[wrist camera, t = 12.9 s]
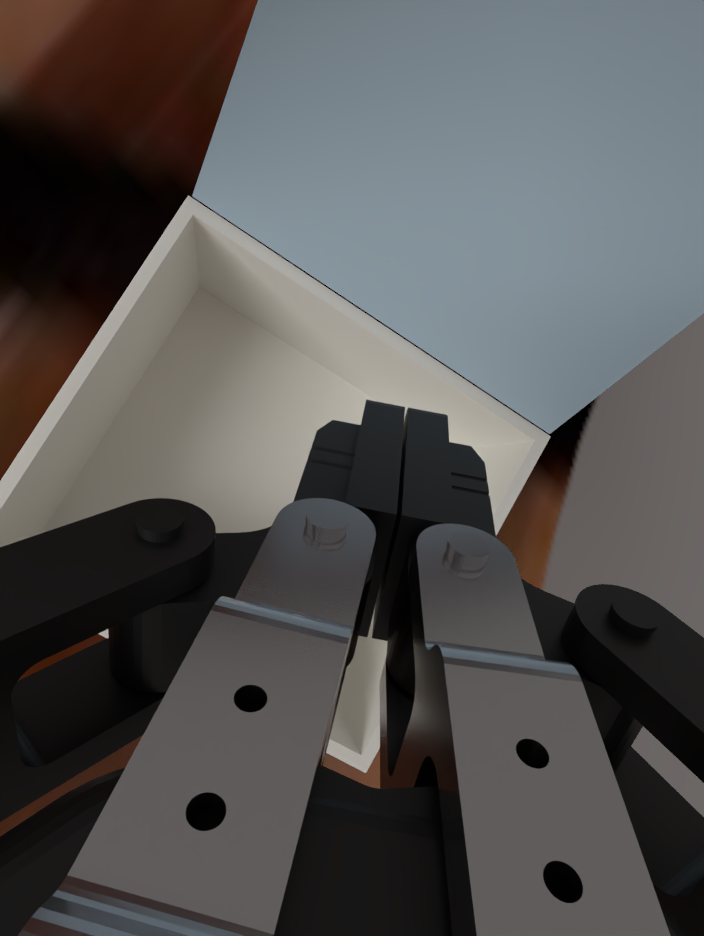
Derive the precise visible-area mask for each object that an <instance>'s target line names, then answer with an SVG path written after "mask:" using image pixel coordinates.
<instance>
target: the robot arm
mask: <svg viewBox="0 0 704 936" xmlns="http://www.w3.org/2000/svg"><path fill="white" fill-rule="evenodd" d="M404 415H405V407H403V406H398V405H393V404H387V403H382V402H377V401H372V400H366V403H365V408H364V412H363V417H362V422H361V425H357V424H352V423H347V422H342V421H337V420H332V421H330V422H329V423H327V424H326V425H324V426H323V427H321V428H320V429H319V430H317V432H316V435H315V438H314V441H313V444H312V448H311V450H310V453H309V456H308V460H307V462H306V465H305V468H304V471H303V474H302V477H301V480H300V483H299V486H298V489H297V492H296V495H295V498H294V501H293V502H292V503H290V504H288V505H287V506H285V507H284V508H282V509H281V510H280V512H279V513H278V514H277V516H276V518H275V520H274V522H273V524H272V526H270V527H268V528H265V529H261V530H257V531H251V532H240V533H216V527H215V524H214V521H213V520H212V518H211V516H210V515H209V514H208V513H207V512H206V511H204V510H203V509H201V508H200V507H198V506H196V505H194V504H191V503H188V502H185V501H181V500H177V499H169V498H153V499H145V500H139V501H136V502H132V503H129V504H126V505H123V506H120V507H117V508H114V509H111V510H109V511H106V512H103V513H100V514H97V515H94V516H91V517H88V518H85V519H82V520H79V521H76V522H73V523H70V524H67V525H64V526H61V527H59V528H56V529H53V530H50V531H47V532H44V533H41V534H38V535H35V536H32V537H29V538H26V539H23V540H20V541H17V542H14V543H12V544H9V545H6V546H3V547H0V822H1V821H2V820H4V819H6V818H7V817H9V816H11V815H12V814H14V813H15V812H17V811H19V810H20V809H22V808H24V807H25V806H27V805H29V804H30V803H32V802H33V801H35V800H37V799H38V798H40V797H42V796H43V795H45V794H47V793H48V792H50V791H52V790H53V789H55V788H56V787H58V786H60V785H61V784H63V783H65V782H66V781H68V780H70V779H71V778H73V777H74V776H76V775H78V774H79V773H81V772H83V771H84V770H86V769H88V768H89V767H91V766H92V765H94V764H96V763H97V762H99V761H101V760H102V759H104V758H106V757H107V756H109V755H110V754H112V753H114V752H115V751H117V750H119V749H120V748H122V747H124V746H125V745H127V744H128V743H130V742H132V741H133V740H135V739H137V738H138V737H140V736H142V735H143V734H144V735H143V736H142V738H141V740H140V742H139V744H138V746H137V747H136V749H135V751H134V753H133V755H132V757H131V759H130V760H129V762H128V764H127V766H126V768H123V769H120V770H116V771H114V772H111V773H109V774H106V775H104V776H101V777H98V778H96V779H93V780H91V781H89V782H87V783H85V784H84V785H82V786H80V787H78V788H76V789H74V790H72V791H70V792H68V793H67V794H65V795H63V796H62V797H60V798H58V799H57V800H55V801H54V802H52V803H51V804H49V805H48V806H46V807H45V808H43V809H42V810H40V811H39V812H37V813H36V814H34V815H33V816H31V817H29V818H28V819H26V820H25V821H23V822H22V823H20V824H19V825H17V826H16V827H14V828H13V829H11V830H10V831H8V832H7V833H5V834H4V835H2V836H1V837H0V936H704V817H703V816H702V815H701V814H699V813H698V812H697V811H696V810H695V809H694V808H693V807H692V806H691V805H690V804H689V803H688V802H687V801H686V800H685V799H684V798H683V797H682V796H681V795H680V794H679V793H678V792H677V791H676V790H675V789H674V788H673V787H672V786H671V785H670V784H669V783H668V782H667V781H666V780H665V779H664V778H663V777H662V776H661V775H660V774H659V773H658V772H657V771H655V769H654V768H652V767H651V766H650V765H649V764H648V763H647V762H646V761H645V760H644V759H643V758H642V757H641V756H640V755H639V754H638V753H637V752H636V751H635V750H634V749H633V748H632V747H631V745H632V743H633V742H634V740H635V738H636V737H637V735H638V733H639V732H640V730H641V728H642V727H643V726H644V727H645V728H646V729H647V730H648V731H649V732H650V733H651V734H652V735H653V736H654V737H655V738H656V739H658V740H659V741H660V742H661V743H662V744H663V745H664V746H665V747H666V748H667V749H668V750H669V751H670V752H671V753H673V754H674V755H675V756H676V757H677V758H678V759H679V760H680V761H681V762H682V763H683V764H684V765H685V766H686V767H688V768H689V769H690V770H691V771H692V772H693V773H694V774H695V775H696V776H697V777H698V778H699V779H700V780H702V782H703V783H704V638H703V637H702V636H700V635H699V634H698V633H697V632H695V631H694V630H693V629H691V628H690V627H689V626H688V625H686V624H685V623H684V622H682V621H681V620H680V619H678V618H677V617H676V616H674V615H673V614H672V613H670V612H669V611H668V610H667V609H665V608H664V607H663V606H661V605H660V604H658V603H657V602H656V601H654V600H652V599H650V598H649V597H647V596H645V595H643V594H641V593H639V592H636V591H633V590H630V589H628V588H624V587H620V586H615V585H604V584H601V585H593V586H590V587H587V588H585V589H583V590H582V591H581V592H580V593H579V595H578V596H577V598H576V601H575V603H571V602H569V601H567V600H564V599H562V598H559V597H557V596H555V595H552V594H550V593H547V592H545V591H543V590H541V589H538V588H536V587H534V586H533V585H531V584H529V583H527V582H526V581H524V580H523V579H521V577H520V573H519V570H518V567H517V563H516V560H515V558H514V556H513V554H512V553H511V551H510V550H509V549H508V548H507V547H506V545H505V544H503V543H502V542H501V541H500V540H498V539H497V538H496V534H495V528H494V521H493V514H492V508H491V501H490V496H489V488H488V482H487V474H486V468H485V462H484V461H483V460H482V459H481V457H480V456H479V455H478V454H477V453H476V451H475V450H474V449H473V448H472V447H471V446H468V445H463V444H457V443H452V442H449V429H448V416H447V415H445V414H440V413H435V412H430V411H425V410H419V409H414V408H409V407H408V409H407V412H406V416H405V420H404ZM374 608H375V612H374ZM373 612H374V622H373V631H372V638H374V639H379V640H384V641H388V642H387V655H386V659H385V663H384V666H383V670H382V674H381V678H380V685H379V689H380V789H377V788H372V787H369V786H366V785H363V784H361V783H359V782H357V781H354V780H352V779H350V778H348V777H346V776H344V775H341V774H339V773H337V772H335V771H333V770H330V769H328V768H326V767H324V766H323V764H324V759H325V755H326V751H327V747H328V743H329V739H330V735H331V731H332V727H333V723H334V719H335V715H336V710H337V706H338V702H339V698H340V694H341V690H342V686H343V682H344V678H345V673H346V669H347V666H348V665H349V664H350V663H351V661H352V659H353V657H354V653H355V649H356V645H357V640H358V636H362V637H368V633H369V629H370V625H371V621H372V616H373ZM107 629H108V635H109V638H107V639H105V640H103V641H101V642H98V643H96V644H94V645H92V646H90V647H88V648H86V649H84V650H82V651H80V652H78V653H76V654H73V655H71V656H69V657H67V658H65V659H63V660H61V661H59V662H57V663H55V664H53V665H51V666H48V667H46V668H44V669H42V670H40V671H38V672H36V673H34V674H32V675H30V676H28V677H26V678H24V679H21V680H19V678H20V677H21V676H22V675H23V674H24V673H25V672H26V671H27V670H28V669H29V668H30V667H32V666H33V665H35V664H36V663H38V662H39V661H41V660H43V659H45V658H47V657H50V656H52V655H54V654H56V653H58V652H60V651H62V650H64V649H67V648H69V647H71V646H73V645H75V644H77V643H79V642H81V641H84V640H86V639H88V638H90V637H92V636H94V635H96V634H98V633H101V632H103V631H105V630H107ZM18 680H19V681H18Z"/></svg>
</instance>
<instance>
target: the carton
mask: <svg viewBox="0 0 704 936" xmlns="http://www.w3.org/2000/svg"><path fill="white" fill-rule="evenodd" d="M366 400H372V401H377V402H382V403H387V404H393V405H398V406H403V407H405V415H404V420H405V416H406V412H407V409H408V407H409V408H414V409H419V410H425V411H430V412H435V413H440V414H445V415H447V416H448V429H449V442H452V443H457V444H463V445H468V446H471V447H472V448H473V449H474V450H475V451H476V453H477V454H478V455H479V456H480V457H481V459H482V460H483V461H484V462H485V468H486V474H487V482H488V488H489V496H490V501H491V508H492V514H493V521H494V528H495V534H496V535H497V533H498V532H499V530H500V528H501V526H502V524H503V523H504V521H505V519H506V517H507V515H508V513H509V512H510V510H511V508H512V506H513V504H514V503H515V501H516V499H517V497H518V495H519V493H520V492H521V490H522V488H523V486H524V484H525V483H526V481H527V479H528V477H529V475H530V473H531V472H532V470H533V468H534V466H535V464H536V463H537V461H538V459H539V457H540V455H541V453H542V452H543V450H544V448H545V446H546V444H547V443H548V441H549V439H550V437H551V436H549V435H548V434H546V433H545V432H543V431H542V430H540V429H539V428H537V427H536V426H534V425H533V424H531V423H530V422H528V421H527V420H525V419H524V418H522V417H521V416H519V415H518V414H516V413H515V412H513V411H512V410H510V409H509V408H507V407H506V406H504V405H503V404H501V403H500V402H498V401H497V400H495V399H494V398H492V397H491V396H489V395H488V394H486V393H485V392H483V391H482V390H480V389H479V388H477V387H476V386H474V385H473V384H471V383H470V382H468V381H467V380H465V379H464V378H462V377H461V376H459V375H458V374H456V373H455V372H453V371H452V370H450V369H449V368H447V367H446V366H444V365H443V364H441V363H440V362H438V361H437V360H435V359H434V358H432V357H431V356H429V355H428V354H426V353H425V352H423V351H422V350H420V349H419V348H417V347H416V346H414V345H413V344H411V343H410V342H408V341H407V340H405V339H404V338H402V337H401V336H399V335H398V334H396V333H394V332H393V331H391V330H390V329H388V328H387V327H385V326H384V325H382V324H381V323H379V322H378V321H376V320H375V319H373V318H372V317H370V316H369V315H367V314H366V313H364V312H363V311H361V310H360V309H358V308H357V307H355V306H354V305H352V304H351V303H349V302H348V301H346V300H345V299H343V298H342V297H340V296H339V295H337V294H336V293H334V292H333V291H331V290H330V289H328V288H327V287H325V286H324V285H322V284H321V283H319V282H318V281H316V280H315V279H313V278H312V277H310V276H309V275H307V274H306V273H304V272H303V271H301V270H300V269H298V268H297V267H295V266H294V265H292V264H291V263H289V262H288V261H286V260H285V259H283V258H282V257H280V256H279V255H277V254H276V253H274V252H273V251H271V250H270V249H268V248H267V247H265V246H264V245H262V244H261V243H259V242H258V241H256V240H255V239H253V238H252V237H250V236H249V235H247V234H246V233H244V232H243V231H241V230H240V229H238V228H237V227H235V226H234V225H232V224H231V223H229V222H228V221H226V220H225V219H223V218H222V217H220V216H219V215H217V214H216V213H214V212H213V211H211V210H210V209H208V208H207V207H205V206H204V205H202V204H201V203H199V202H198V201H196V200H194V199H193V198H191V197H190V196H187V198H186V199H185V201H184V202H183V204H182V205H181V207H180V208H179V210H178V212H177V213H176V215H175V216H174V218H173V219H172V221H171V222H170V224H169V225H168V227H167V228H166V230H165V231H164V233H163V234H162V236H161V237H160V239H159V240H158V242H157V243H156V245H155V247H154V248H153V250H152V251H151V253H150V254H149V256H148V257H147V259H146V260H145V262H144V263H143V265H142V266H141V268H140V269H139V271H138V272H137V274H136V275H135V277H134V278H133V280H132V281H131V283H130V285H129V286H128V288H127V289H126V291H125V292H124V294H123V295H122V297H121V298H120V300H119V301H118V303H117V304H116V306H115V307H114V309H113V310H112V312H111V313H110V315H109V316H108V318H107V320H106V321H105V323H104V324H103V326H102V327H101V329H100V330H99V332H98V333H97V335H96V336H95V338H94V339H93V341H92V342H91V344H90V345H89V347H88V348H87V350H86V351H85V353H84V355H83V356H82V358H81V359H80V361H79V362H78V364H77V365H76V367H75V368H74V370H73V371H72V373H71V374H70V376H69V377H68V379H67V380H66V382H65V383H64V385H63V386H62V388H61V390H60V391H59V393H58V394H57V396H56V397H55V399H54V400H53V402H52V403H51V405H50V406H49V408H48V409H47V411H46V412H45V414H44V415H43V417H42V418H41V420H40V421H39V423H38V425H37V426H36V428H35V429H34V431H33V432H32V434H31V435H30V437H29V438H28V440H27V441H26V443H25V444H24V446H23V447H22V449H21V450H20V452H19V453H18V455H17V456H16V458H15V459H14V461H13V463H12V464H11V466H10V467H9V469H8V470H7V472H6V473H5V475H4V476H3V478H2V479H1V481H0V547H3V546H6V545H9V544H12V543H14V542H17V541H20V540H23V539H26V538H29V537H32V536H35V535H38V534H41V533H44V532H47V531H50V530H53V529H56V528H59V527H61V526H64V525H67V524H70V523H73V522H76V521H79V520H82V519H85V518H88V517H91V516H94V515H97V514H100V513H103V512H106V511H109V510H111V509H114V508H117V507H120V506H123V505H126V504H129V503H132V502H136V501H139V500H145V499H153V498H169V499H177V500H181V501H185V502H188V503H191V504H194V505H196V506H198V507H200V508H201V509H203V510H204V511H206V512H207V513H208V514H209V515H210V516H211V518H212V520H213V521H214V524H215V527H216V533H240V532H251V531H257V530H261V529H265V528H268V527H270V526H272V524H273V522H274V520H275V518H276V516H277V514H278V513H279V512H280V510H281V509H282V508H284V507H285V506H287V505H288V504H290V503H292V502H293V501H294V498H295V495H296V492H297V489H298V486H299V483H300V480H301V477H302V474H303V471H304V468H305V465H306V462H307V460H308V456H309V453H310V450H311V448H312V444H313V441H314V438H315V435H316V432H317V430H319V429H320V428H321V427H323V426H324V425H326V424H327V423H329V422H330V421H332V420H337V421H342V422H347V423H352V424H357V425H361V422H362V417H363V412H364V408H365V403H366ZM374 612H375V608H374ZM374 612H373V616H372V621H371V625H370V629H369V633H368V637H362V636H358V640H357V645H356V649H355V653H354V657H353V659H352V661H351V663H350V664H349V665H348V666H347V669H346V673H345V678H344V682H343V686H342V690H341V694H340V698H339V702H338V706H337V710H336V715H335V719H334V723H333V727H332V731H331V735H330V739H329V743H328V747H327V751H326V753H328V754H330V755H332V756H334V757H336V758H338V759H340V760H341V761H343V762H345V763H347V764H349V765H351V766H353V767H355V768H357V769H359V770H361V771H363V772H365V773H366V772H367V770H368V768H369V766H370V765H371V763H372V761H373V759H374V757H375V755H376V754H377V752H378V750H379V748H380V689H379V685H380V678H381V674H382V670H383V666H384V663H385V659H386V655H387V642H388V641H384V640H379V639H374V638H372V631H373V622H374ZM98 634H100V635H102V636H104V637H105V638H109V635H108V629H107V630H105V631H103V632H101V633H98Z"/></svg>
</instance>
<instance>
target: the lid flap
mask: <svg viewBox="0 0 704 936" xmlns="http://www.w3.org/2000/svg"><path fill="white" fill-rule="evenodd" d="M192 196H193V197H194V198H196V199H197V200H199V201H200V202H202V203H203V204H205V205H206V206H208V207H209V208H211V209H212V210H214V211H215V212H217V213H218V214H220V215H221V216H223V217H224V218H226V219H227V220H229V221H230V222H232V223H233V224H235V225H236V226H238V227H239V228H241V229H242V230H244V231H245V232H247V233H248V234H250V235H251V236H253V237H254V238H256V239H257V240H259V241H260V242H262V243H263V244H265V245H266V246H268V247H269V248H271V249H272V250H274V251H275V252H277V253H278V254H280V255H281V256H283V257H284V258H286V259H287V260H289V261H290V262H292V263H293V264H295V265H296V266H298V267H299V268H301V269H302V270H304V271H305V272H307V273H308V274H310V275H311V276H313V277H314V278H316V279H317V280H319V281H320V282H322V283H323V284H325V285H326V286H328V287H329V288H331V289H332V290H334V291H335V292H337V293H338V294H340V295H341V296H343V297H344V298H346V299H347V300H349V301H350V302H352V303H353V304H355V305H356V306H358V307H359V308H361V309H363V310H364V311H366V312H367V313H369V314H370V315H372V316H373V317H375V318H376V319H378V320H379V321H381V322H382V323H384V324H385V325H387V326H388V327H390V328H391V329H393V330H394V331H396V332H397V333H399V334H400V335H402V336H403V337H405V338H406V339H408V340H409V341H411V342H412V343H414V344H415V345H417V346H418V347H420V348H421V349H423V350H424V351H426V352H427V353H429V354H430V355H432V356H433V357H435V358H436V359H438V360H439V361H441V362H442V363H444V364H445V365H447V366H448V367H450V368H451V369H453V370H454V371H456V372H457V373H459V374H460V375H462V376H463V377H465V378H466V379H468V380H469V381H471V382H472V383H474V384H475V385H477V386H478V387H480V388H481V389H483V390H484V391H486V392H487V393H489V394H490V395H492V396H493V397H495V398H496V399H498V400H499V401H501V402H502V403H504V404H505V405H507V406H508V407H510V408H511V409H513V410H514V411H516V412H517V413H519V414H520V415H522V416H523V417H525V418H526V419H528V420H529V421H531V422H532V423H534V424H535V425H537V426H538V427H540V428H541V429H543V430H544V431H546V432H547V433H549V434H550V433H552V432H553V431H554V430H556V429H557V428H558V427H559V426H561V425H562V424H563V423H564V422H566V421H567V420H568V419H570V418H571V417H572V416H573V415H575V414H576V413H577V412H579V411H580V410H581V409H582V408H584V407H585V406H586V405H587V404H589V403H590V402H591V401H593V400H594V399H595V398H596V397H598V396H599V395H600V394H602V393H603V392H604V391H605V390H607V389H608V388H609V387H610V386H612V385H613V384H614V383H616V382H617V381H618V380H619V379H621V378H622V377H623V376H625V375H626V374H627V373H628V372H630V371H631V370H632V369H633V368H635V367H636V366H637V365H639V364H640V363H641V362H642V361H644V360H645V359H646V358H647V357H649V356H650V355H651V354H653V353H654V352H655V351H656V350H658V349H659V348H660V347H662V346H663V345H664V344H665V343H667V342H668V341H669V340H670V339H672V338H673V337H674V336H676V335H677V334H678V333H679V332H681V331H682V330H683V329H684V328H686V327H687V326H688V325H690V324H691V323H692V322H693V321H695V320H696V319H697V318H699V317H700V316H701V315H702V314H704V0H258V2H257V5H256V8H255V11H254V14H253V17H252V20H251V23H250V26H249V29H248V32H247V35H246V38H245V41H244V44H243V47H242V50H241V53H240V56H239V59H238V61H237V64H236V67H235V70H234V73H233V76H232V79H231V82H230V85H229V88H228V91H227V94H226V97H225V100H224V103H223V106H222V109H221V112H220V115H219V118H218V121H217V124H216V127H215V130H214V133H213V136H212V139H211V142H210V145H209V147H208V150H207V153H206V156H205V159H204V162H203V165H202V168H201V171H200V174H199V177H198V180H197V183H196V186H195V189H194V192H193V195H192Z"/></svg>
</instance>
